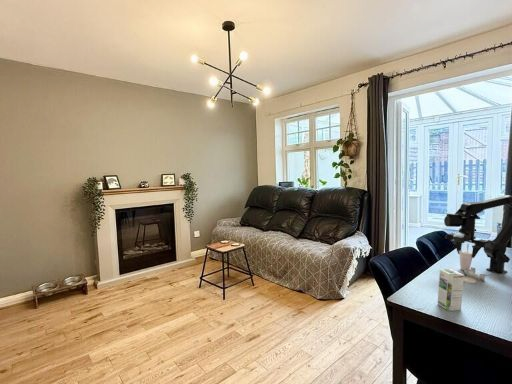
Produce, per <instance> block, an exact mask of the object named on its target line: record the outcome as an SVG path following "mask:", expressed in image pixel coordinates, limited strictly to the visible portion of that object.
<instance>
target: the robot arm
mask: <svg viewBox="0 0 512 384" xmlns="http://www.w3.org/2000/svg"><path fill="white" fill-rule="evenodd" d="M506 205H508V206H510V207H511V208H512V195H509V194H504V195H502V196H498V197H494V198H490V199H487V200H485V199H484V200H482V201H469V202H468V201H467V202H463V203H462V204H461V205H460V207H459V209H458V210H456V212H455V213H446V216H445V217H444V219H443V222H444V226H446V227H449V228H451V227H452V228H453V227H457V228H459V227H460V228H459V230H458V232H455V233H453V232H452V233H451V232H450V233H447V234H446V235H445V239H446V240H447V241H449V240H450V242H452V243H453V245H454V247H455V249H456V252H457V254H458V255H460V254H459V251H460V250H462V246H463V244H464V243H471V244H474V245H471V247H472V251H471V252H472V259H474V258H475V257H476V256H477V255H478V253H479V252H480V250H481V249H482V248H483V252H484V254H486V257H487V258H489V267H487V268H485V270H486V271H489V272H492V273H496V274H498V275H499V274H500V275H502V274H505V273H508V270H505V263H509V261H510V260H511V259H510V257H509V256H507V254H506V251H507V245H508V244H507V243H509V241H510V239H511V238H512V209H511V213H510V217H509V219H508V220H507V221H506V223H505V224H504V226H503V227H502V228H501V230H500V231H499V232H498V234H497V235H496V237H495V238H494V239H492V240H491V239H488V240H486V239H477V237H476V236H475V232H477V229H476V220H480V219H481V217H480V216H479V215H478V214H480V213H482V212H483V211H485V210H489V209H493V208H497V207H501V206H506Z"/></svg>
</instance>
